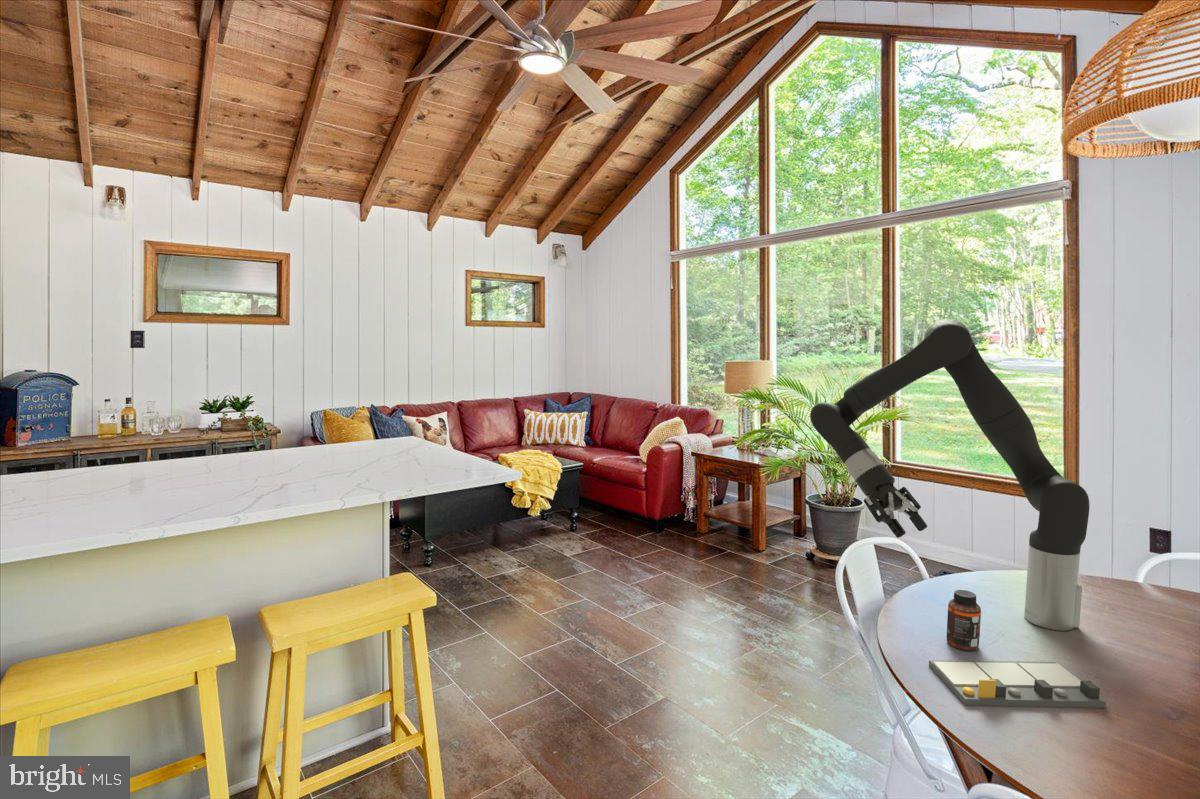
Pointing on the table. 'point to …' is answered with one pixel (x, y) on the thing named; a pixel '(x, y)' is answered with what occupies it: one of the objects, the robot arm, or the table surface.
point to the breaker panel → (1016, 684)
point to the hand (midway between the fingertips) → (913, 532)
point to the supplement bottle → (963, 621)
